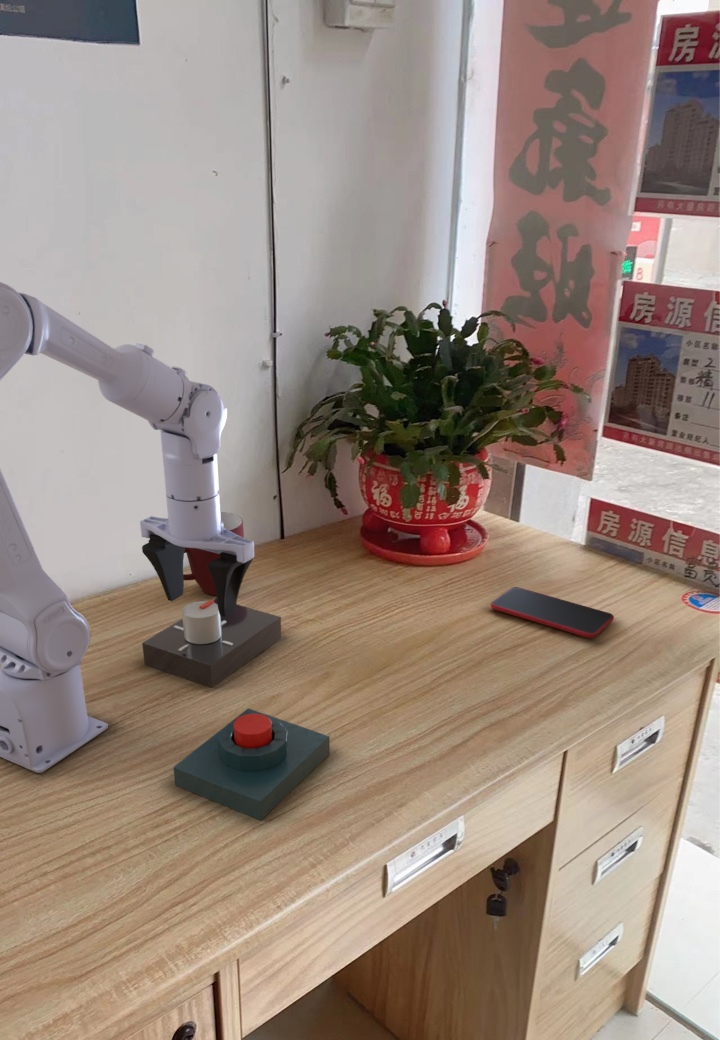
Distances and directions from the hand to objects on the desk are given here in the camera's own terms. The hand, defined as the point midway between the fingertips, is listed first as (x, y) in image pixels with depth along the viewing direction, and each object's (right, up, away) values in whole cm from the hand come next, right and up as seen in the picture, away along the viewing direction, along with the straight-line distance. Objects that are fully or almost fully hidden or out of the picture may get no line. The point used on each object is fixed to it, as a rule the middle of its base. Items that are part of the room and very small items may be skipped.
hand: (201, 605), depth 102 cm
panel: (+1, -5, +5) cm, 7 cm away
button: (+8, -14, -18) cm, 24 cm away
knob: (0, -4, +2) cm, 4 cm away
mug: (-2, +2, +20) cm, 20 cm away
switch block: (+8, -17, -16) cm, 25 cm away
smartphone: (+44, -1, +15) cm, 46 cm away
